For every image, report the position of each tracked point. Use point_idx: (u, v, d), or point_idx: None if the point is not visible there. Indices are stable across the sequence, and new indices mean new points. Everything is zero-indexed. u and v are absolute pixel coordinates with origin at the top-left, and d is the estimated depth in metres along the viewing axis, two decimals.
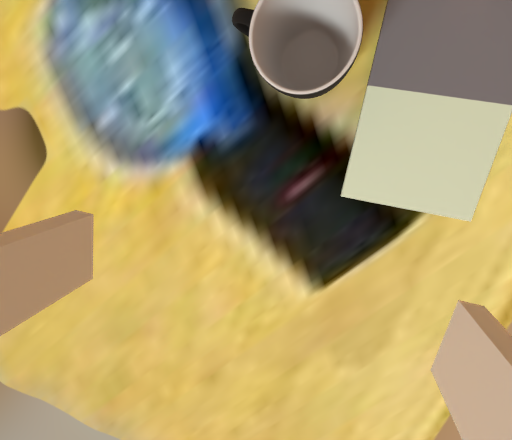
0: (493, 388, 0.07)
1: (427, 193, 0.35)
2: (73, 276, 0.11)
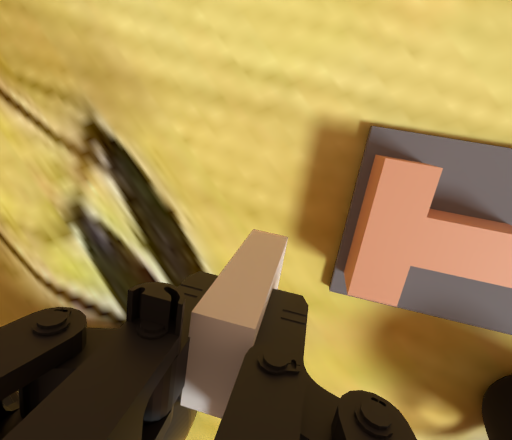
0: None
1: None
2: None
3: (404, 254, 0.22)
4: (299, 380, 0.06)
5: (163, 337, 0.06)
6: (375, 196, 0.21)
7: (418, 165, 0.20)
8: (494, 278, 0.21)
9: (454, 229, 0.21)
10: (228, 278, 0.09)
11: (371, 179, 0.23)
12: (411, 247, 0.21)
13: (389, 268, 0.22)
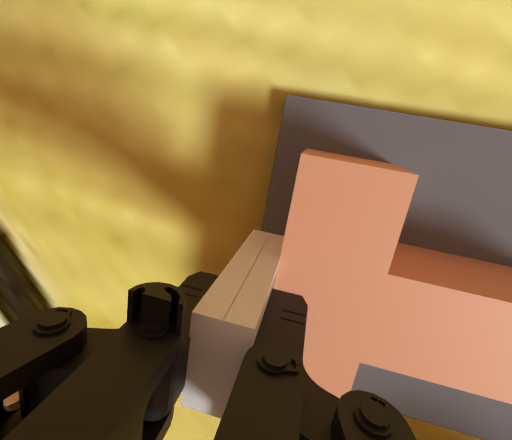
0: None
1: None
2: None
3: (347, 341, 0.11)
4: (298, 380, 0.06)
5: (163, 337, 0.06)
6: (287, 230, 0.11)
7: (367, 169, 0.10)
8: None
9: (444, 299, 0.10)
10: (228, 278, 0.09)
11: None
12: (360, 329, 0.11)
13: (320, 365, 0.12)
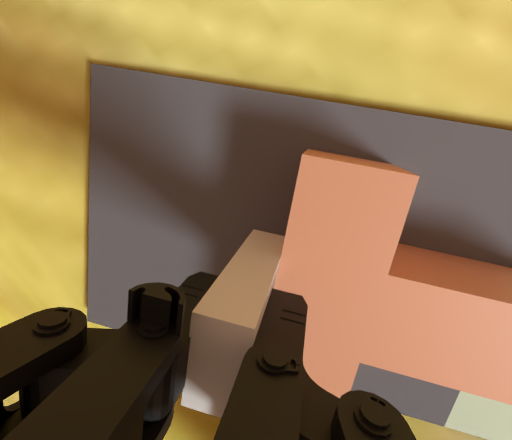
0: None
1: None
2: None
3: (347, 341, 0.11)
4: (298, 380, 0.06)
5: (164, 337, 0.06)
6: (287, 230, 0.11)
7: (368, 170, 0.10)
8: None
9: (444, 300, 0.10)
10: (228, 278, 0.09)
11: None
12: (360, 329, 0.11)
13: (320, 364, 0.12)
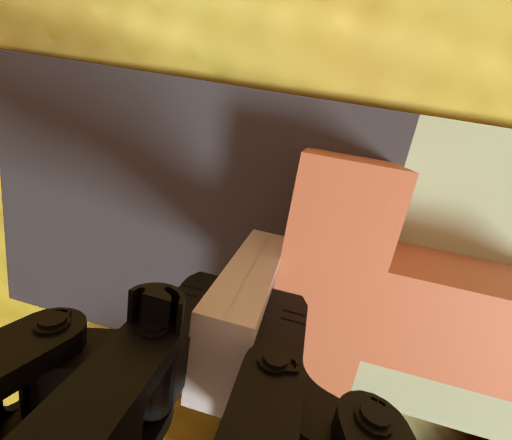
0: None
1: None
2: None
3: (348, 339, 0.11)
4: (299, 380, 0.06)
5: (163, 337, 0.06)
6: (287, 228, 0.11)
7: (368, 167, 0.10)
8: None
9: (445, 297, 0.10)
10: (228, 278, 0.09)
11: None
12: (360, 327, 0.11)
13: (321, 363, 0.12)
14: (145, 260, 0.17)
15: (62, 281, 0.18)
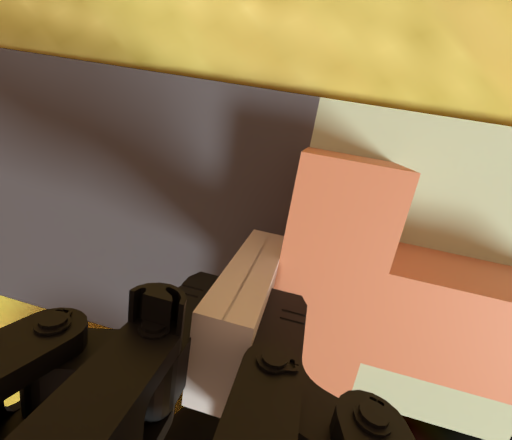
0: None
1: None
2: None
3: (348, 342, 0.11)
4: (297, 380, 0.06)
5: (164, 337, 0.06)
6: (287, 229, 0.10)
7: (368, 167, 0.09)
8: None
9: (447, 299, 0.10)
10: (229, 278, 0.09)
11: None
12: (361, 329, 0.11)
13: (321, 365, 0.11)
14: (79, 243, 0.17)
15: (4, 265, 0.19)
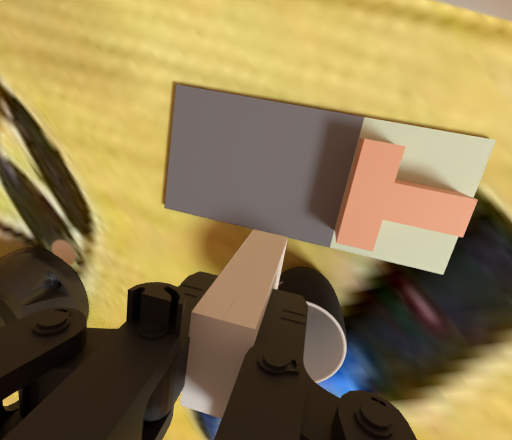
0: None
1: (451, 189, 0.31)
2: None
3: (378, 211, 0.29)
4: (299, 380, 0.06)
5: (163, 337, 0.06)
6: (357, 167, 0.29)
7: (388, 144, 0.28)
8: (443, 228, 0.28)
9: (414, 191, 0.28)
10: (228, 278, 0.09)
11: (356, 156, 0.31)
12: (383, 205, 0.29)
13: (367, 222, 0.30)
14: (240, 184, 0.35)
15: (195, 197, 0.37)
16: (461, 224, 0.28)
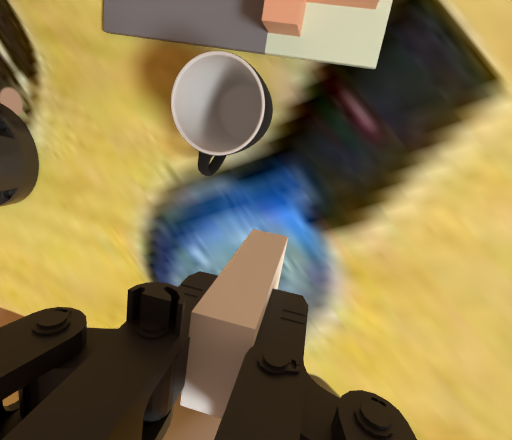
0: None
1: None
2: None
3: None
4: (299, 380, 0.06)
5: (163, 337, 0.06)
6: None
7: None
8: None
9: None
10: (228, 278, 0.09)
11: None
12: None
13: None
14: None
15: (132, 14, 0.37)
16: None
